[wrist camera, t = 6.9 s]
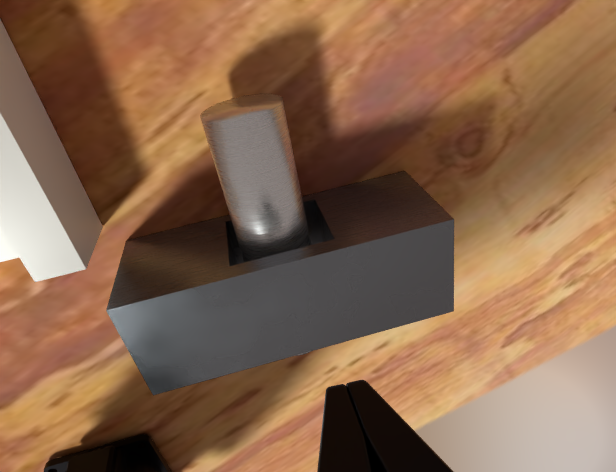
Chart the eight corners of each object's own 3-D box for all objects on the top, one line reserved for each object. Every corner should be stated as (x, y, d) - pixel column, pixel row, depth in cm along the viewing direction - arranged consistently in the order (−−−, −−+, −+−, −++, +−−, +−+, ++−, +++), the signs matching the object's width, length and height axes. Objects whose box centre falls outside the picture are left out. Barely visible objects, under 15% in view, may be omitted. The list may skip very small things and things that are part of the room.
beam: (409, 251, 25) (453, 311, 21) (162, 317, 24) (153, 395, 20) (404, 170, 22) (453, 219, 18) (126, 240, 21) (106, 310, 17)
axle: (324, 306, 25) (331, 349, 22) (267, 317, 25) (267, 360, 22) (281, 88, 18) (284, 111, 16) (205, 103, 18) (195, 128, 16)
